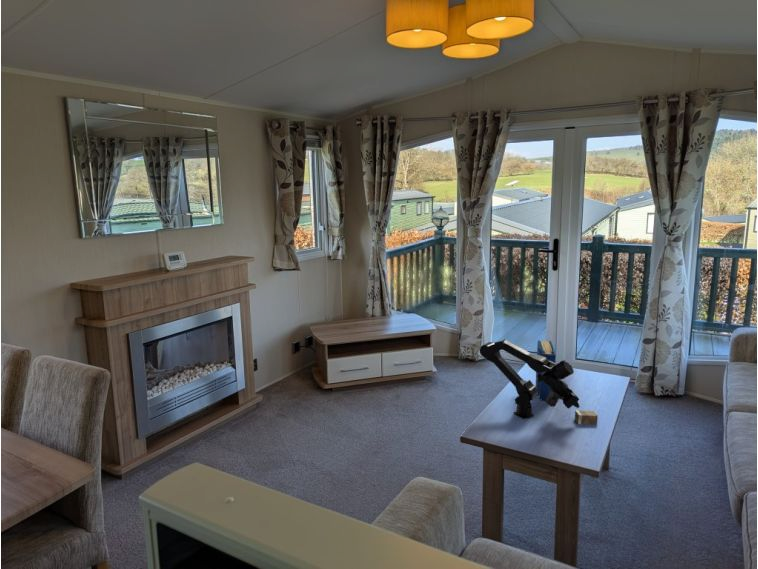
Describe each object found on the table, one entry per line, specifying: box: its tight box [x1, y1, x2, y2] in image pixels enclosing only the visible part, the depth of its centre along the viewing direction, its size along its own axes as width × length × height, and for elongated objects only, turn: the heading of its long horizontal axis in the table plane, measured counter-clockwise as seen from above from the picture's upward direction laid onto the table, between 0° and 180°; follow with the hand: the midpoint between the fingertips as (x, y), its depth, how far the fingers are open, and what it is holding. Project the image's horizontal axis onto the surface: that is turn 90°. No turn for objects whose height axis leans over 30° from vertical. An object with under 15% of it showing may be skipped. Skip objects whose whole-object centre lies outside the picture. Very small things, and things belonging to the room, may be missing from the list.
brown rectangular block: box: [574, 410, 599, 425], centre depth 231 cm, size 4×5×8 cm
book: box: [535, 340, 557, 402], centre depth 261 cm, size 22×7×25 cm, turn 168°
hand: (578, 407), depth 231 cm, fingers closed
